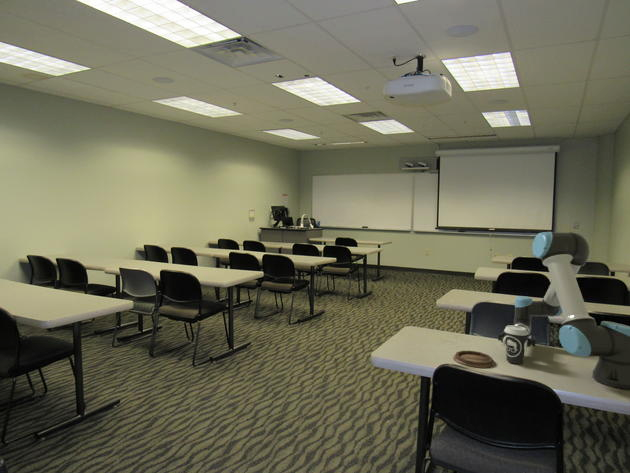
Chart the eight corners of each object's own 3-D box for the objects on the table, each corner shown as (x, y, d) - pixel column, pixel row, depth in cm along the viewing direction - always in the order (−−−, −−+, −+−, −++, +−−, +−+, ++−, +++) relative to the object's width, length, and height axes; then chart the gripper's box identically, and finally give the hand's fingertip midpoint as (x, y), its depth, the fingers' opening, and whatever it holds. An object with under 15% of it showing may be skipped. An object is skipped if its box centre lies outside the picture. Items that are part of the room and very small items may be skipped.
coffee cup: (529, 365, 173) (531, 331, 172) (506, 363, 175) (507, 329, 174) (523, 358, 182) (524, 325, 182) (500, 356, 184) (501, 324, 183)
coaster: (501, 368, 171) (501, 363, 171) (462, 367, 171) (462, 363, 170) (484, 354, 188) (484, 350, 188) (447, 353, 187) (448, 349, 187)
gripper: (544, 344, 188) (541, 358, 169) (496, 336, 199) (488, 348, 180) (545, 328, 187) (541, 340, 168) (497, 321, 199) (489, 332, 179)
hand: (514, 344), depth 174 cm, fingers closed on coffee cup, 8 cm apart
